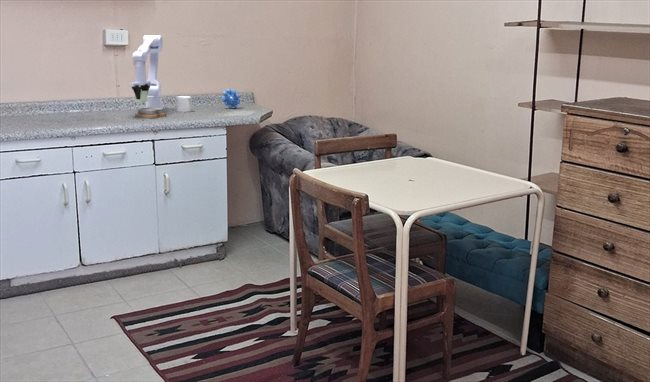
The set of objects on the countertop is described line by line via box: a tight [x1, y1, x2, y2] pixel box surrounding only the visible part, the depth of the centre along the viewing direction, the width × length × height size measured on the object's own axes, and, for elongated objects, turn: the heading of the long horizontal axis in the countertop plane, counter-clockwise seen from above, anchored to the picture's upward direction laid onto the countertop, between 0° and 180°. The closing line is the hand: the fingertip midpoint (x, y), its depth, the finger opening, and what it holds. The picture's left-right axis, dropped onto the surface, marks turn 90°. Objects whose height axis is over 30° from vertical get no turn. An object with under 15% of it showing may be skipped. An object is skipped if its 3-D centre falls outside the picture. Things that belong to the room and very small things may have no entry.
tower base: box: [134, 112, 168, 120], centre depth 401 cm, size 12×12×2 cm
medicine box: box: [175, 95, 193, 113], centre depth 424 cm, size 8×4×9 cm, turn 84°
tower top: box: [137, 107, 165, 115], centre depth 401 cm, size 10×10×2 cm
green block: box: [134, 90, 148, 103], centre depth 398 cm, size 4×4×6 cm
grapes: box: [221, 88, 241, 109], centre depth 438 cm, size 12×7×12 cm, turn 114°
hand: (141, 98), depth 398 cm, fingers closed on green block, 4 cm apart
